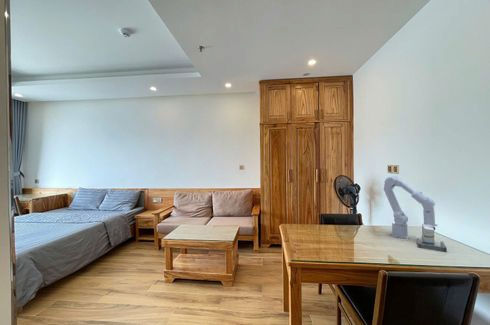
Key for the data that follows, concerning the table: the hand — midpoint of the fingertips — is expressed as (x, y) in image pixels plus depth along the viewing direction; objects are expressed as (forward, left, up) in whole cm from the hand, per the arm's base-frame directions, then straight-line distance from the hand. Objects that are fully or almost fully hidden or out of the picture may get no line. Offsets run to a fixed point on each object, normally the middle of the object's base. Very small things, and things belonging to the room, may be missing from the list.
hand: (430, 237), depth 144 cm
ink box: (-2, -4, -3) cm, 6 cm away
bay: (-1, -8, -3) cm, 8 cm away
